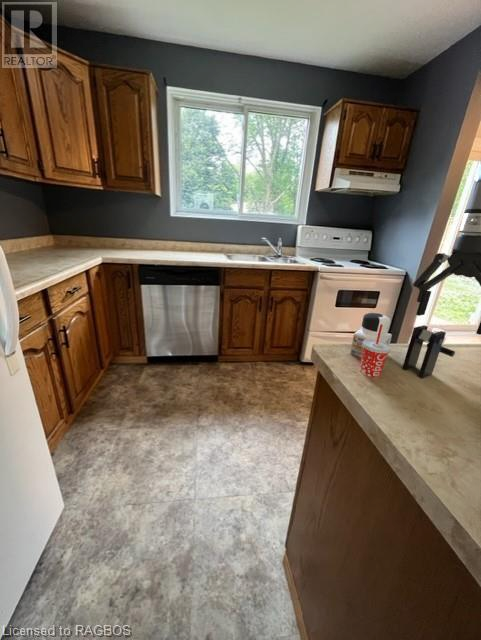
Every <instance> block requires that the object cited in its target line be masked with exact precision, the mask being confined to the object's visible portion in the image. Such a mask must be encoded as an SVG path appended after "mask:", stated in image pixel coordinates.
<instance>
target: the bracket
mask: <svg viewBox="0 0 481 640" xmlns="http://www.w3.org/2000/svg"><path fill="white" fill-rule="evenodd" d="M428 328H429V326H428V325H425V324H423V325H419V326H416V327H413V330H412V332H411V337H410V340H409V343H408V347H407V351H406V353H405V357H404V360H403V364H402V368H401V370H403V371H404V372H407V371H410V370H412V369H415V368H416V367H417V364H418V361H419V357H420V354H421V350H422V348H423V344H424V342H423V341H421V340H420V339H419V336H420V334H421V333H422V331H423V329H425V330H428ZM446 334H447V332H446V331H442V330H440V331H436V332H433V334H431V337H430V341H429V344H428V343H427V344H428V347H427V346H426V351H425V353H424V356H423V358H422V359H423V360H422V363H421V366H420V369H419V372H418V375H417V378H418V379H420V380H422V379H425V378H428V377H430V376H432V375H433V372H434V369H435V367H436V363H437V361H438V357H439V354H440V353H441V352H440V349H441V346H442V347H443V342H444V340H445V337H446Z"/></svg>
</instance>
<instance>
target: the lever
mask: <svg viewBox="0 0 481 640" xmlns="http://www.w3.org/2000/svg"><path fill="white" fill-rule="evenodd" d="M433 333H434V332H433V331H430V330H428V329H427V330H425V329H423V331H422V333H421V334H420V336H419V339H420V340H421V341H423V343H425V344H426V348H427V347H428V344H429V341H430V337H431V334H433ZM439 353H440V354H443V355H446V356H448V357H450V358H453V357H454V356H455V354H456V351H455V350H454V349H453V350H452V349H450V348H448V347H445V346H443V345H442V346H441V349H440V352H439Z"/></svg>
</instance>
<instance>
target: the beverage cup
mask: <svg viewBox="0 0 481 640" xmlns="http://www.w3.org/2000/svg"><path fill="white" fill-rule="evenodd" d="M382 326H383V325H382V324H380V328H379V333H378V337H377V340H374V339H366V340H364V341H363V344H362V345H363V351H362V357H361V358H360V363H359V364H360V365H359V372H360V373H361V374H362V375H364V376H366V377H368V378H369V377H370V378H379V377H381V375H382V372H383V369H384V367H385V364H386V361H387V358H388V356H389V355H388V354H389V353H390V352H391V350H392V345H391V344H390V345H389V344H387V343H385V342H383V341H379V338H380V334H381V330H382Z"/></svg>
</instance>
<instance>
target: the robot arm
mask: <svg viewBox="0 0 481 640" xmlns="http://www.w3.org/2000/svg"><path fill="white" fill-rule="evenodd" d="M458 232H459V233H460V234H458V235H457V236H456V237H455V240H454V243H453V247H452V250H451V253H450V254H446V253H445V252H439V253H436V254H435V256H434V257H433V260H432V262H431V263H430V264H429V265H428V266H427V267H426V269H425V270H424V271H423V272H422V273H421V274H420V276H419V277H418V278H417V279H416V280H415V281H414V282H413V284H412V286H413V287H416V288H417V289H418V290H419V291H418V295H417V298H416V301H417V303H418V307H417V309H416V316H419V317H420V316H425V315H426V310H427V307H428V306H429V305H428V304H429V301H430V298H431V294H432V290H430V289H431V288H433V287H435V286H436V285H438V284H439V283H440V282H442V281H444V280H446V279H447V278H448V277H450V276H451V275H454V276H458V277H459V276H462V277H465V278H470V279H471V278H474V279H475V281H476V282H477V283H478V284H479V286H480V287H481V163H480V164H479V167H478V168H477V170H476V174H475V176H474V180H473V182H472V186H471V189H470V193H469V196H468V200H467V203H466V207H465V210H464V212H463V215H462V219H461V222H460V225H459V228H458ZM446 261H447V264H448V266H447V267H446V268H444V269H443V270H442V271H441V272H439V273H438V274H436V275H435V276H433V278H431V277H432V275H434V274H435V273H436V271H437V270H438V269H440V267H441V266H442V265H443V264H444V263H446ZM430 278H431V279H430ZM475 334H476V335H481V321H480V322H479V324H478V327H477V330H476V332H475Z"/></svg>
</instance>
